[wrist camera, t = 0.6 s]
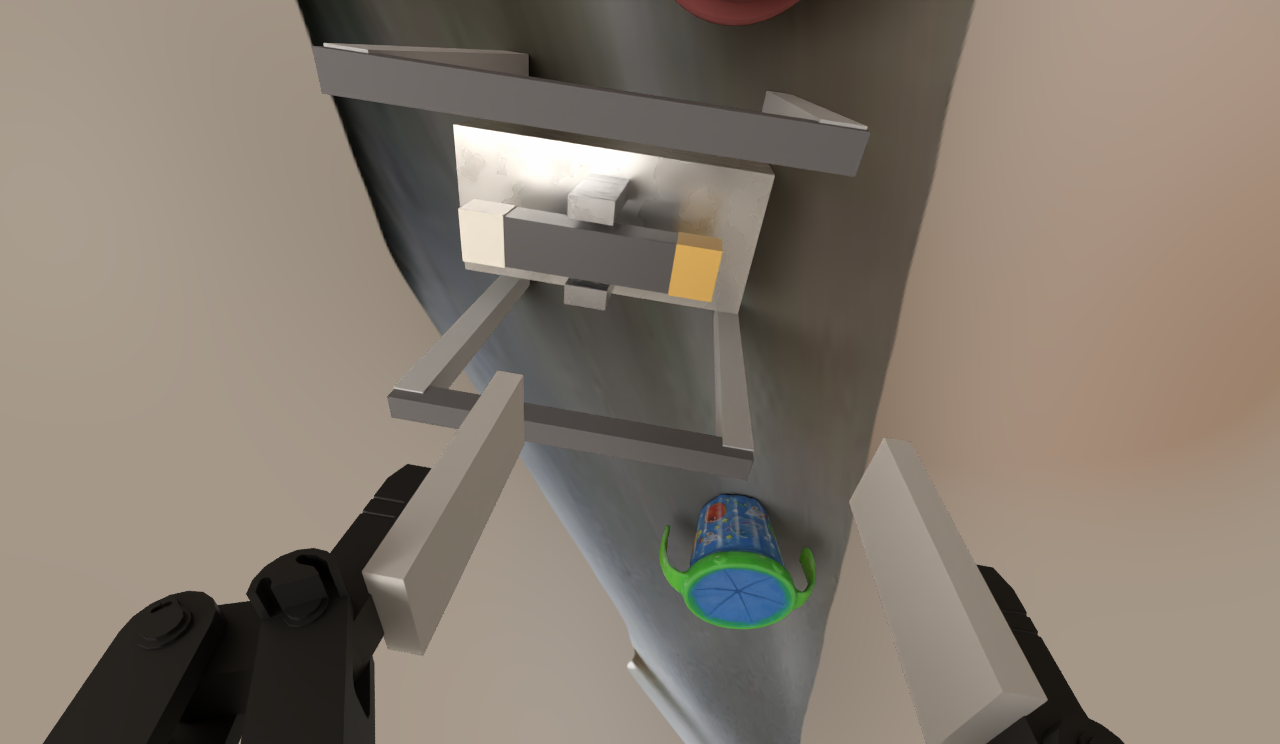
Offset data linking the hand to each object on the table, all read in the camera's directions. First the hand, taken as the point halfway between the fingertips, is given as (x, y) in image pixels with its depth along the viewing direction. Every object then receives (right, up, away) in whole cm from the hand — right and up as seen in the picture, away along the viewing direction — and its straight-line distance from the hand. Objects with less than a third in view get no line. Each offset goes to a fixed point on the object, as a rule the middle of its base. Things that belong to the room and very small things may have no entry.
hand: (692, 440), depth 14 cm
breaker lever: (-4, +9, +13) cm, 17 cm away
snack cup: (+9, -14, +39) cm, 42 cm away
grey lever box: (-3, +15, +22) cm, 27 cm away
